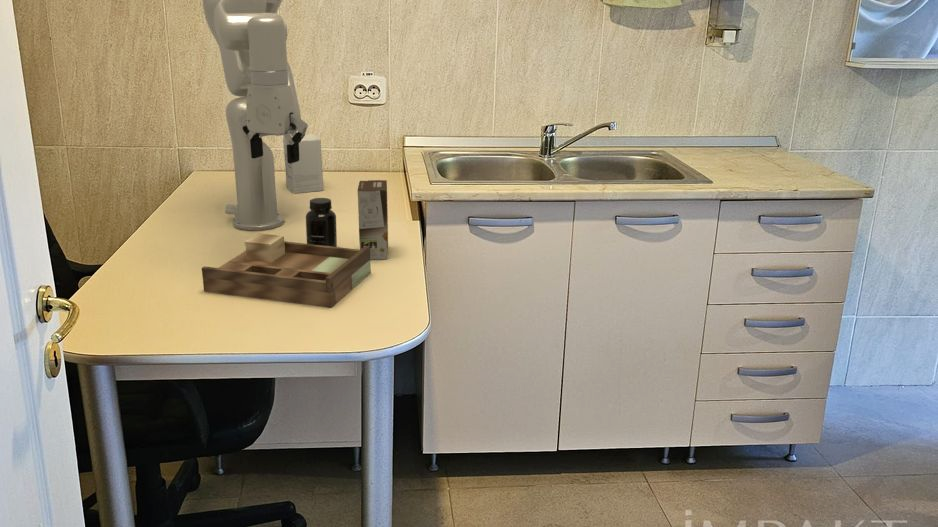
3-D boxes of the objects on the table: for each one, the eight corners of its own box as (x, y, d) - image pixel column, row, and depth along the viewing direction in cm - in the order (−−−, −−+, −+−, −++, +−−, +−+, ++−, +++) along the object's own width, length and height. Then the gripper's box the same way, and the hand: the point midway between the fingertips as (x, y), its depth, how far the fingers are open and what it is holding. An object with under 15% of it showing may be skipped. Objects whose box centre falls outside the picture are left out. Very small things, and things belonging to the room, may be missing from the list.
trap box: (203, 291, 175) (201, 263, 173) (253, 259, 193) (251, 233, 191) (331, 307, 168) (330, 278, 166) (370, 272, 186) (369, 246, 184)
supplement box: (316, 183, 255) (313, 133, 250) (324, 191, 247) (321, 139, 242) (285, 186, 252) (282, 135, 247) (292, 194, 244) (289, 141, 239)
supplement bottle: (312, 257, 195) (309, 205, 191) (303, 248, 200) (300, 198, 196) (341, 252, 198) (339, 202, 194) (331, 244, 203) (329, 194, 199)
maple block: (246, 259, 184) (244, 241, 183) (260, 250, 189) (259, 233, 188) (271, 262, 182) (270, 244, 181) (285, 253, 188) (284, 235, 187)
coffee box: (388, 259, 194) (386, 190, 188) (359, 260, 193) (357, 190, 188) (388, 246, 202) (387, 179, 197) (361, 246, 202) (358, 179, 196)
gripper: (224, 77, 180) (231, 158, 186) (292, 83, 172) (297, 168, 178) (249, 73, 186) (255, 152, 192) (314, 79, 179) (319, 160, 184)
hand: (275, 159), depth 185 cm, fingers open, 9 cm apart
